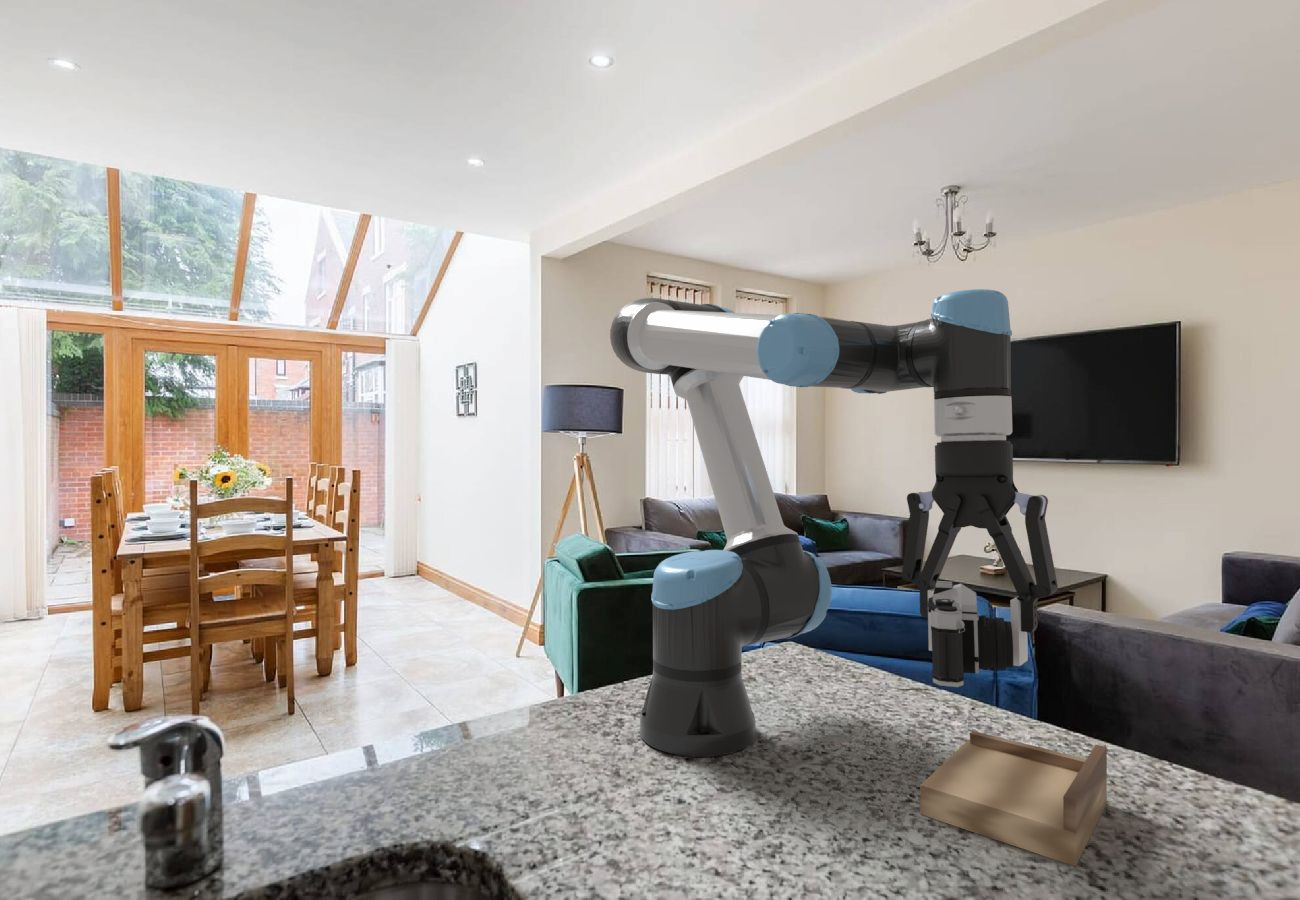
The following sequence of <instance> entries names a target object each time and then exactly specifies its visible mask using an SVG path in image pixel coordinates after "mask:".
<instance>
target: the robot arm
mask: <svg viewBox="0 0 1300 900" xmlns="http://www.w3.org/2000/svg"><path fill="white" fill-rule="evenodd" d="M931 309H932V310H931V312H930V318H927V319H926V320H920V321H916V322H910V323H904V324H898V325H886V324H885V325H884V324H878V323H871V322H863V321H855V320H845V319H838V318H832V317H825V316H818V315H817V314H812V313H804V312H802V313H801V312H793V313H789V312H788V313H781V314H772V313H771V314H768V313H746V312H745V313H744V312H735V311H734V310H732V309H729V308H727V307H721V306H720V305H719V306H718V305H717V304H713V303H702V304H701V303H700V304H698V303H693V302H685V301H680V300H679V301H678V300H672V299H665V298H658V297H646V298H644V297H643V298H639V299H635V300H634V301H629V302H628V303H627V304H626V305H624V306H622V307H621V309H619V310H618V312H616V314H615V316H614V318H613V320H612V322H611V326H610V330H609V332H610V333H609V335H610V336H609V338H610V344H611V348H612V350H613V353H614V354H615V356H616V357H617V358H618V359H619V361H620V362H622V363H623V364H624V365H625V366H627V367H628V368H629V369H632V370H635V371H638V372H641V373H647V374H654V375H668V376H669V377H670V380H671V385H672V388H673V390H674V394H675V395H676V396H678V397H679V398H682V399H683V400H686V402H687V405H688V408H689V413H690V416H691V419H692V423H693V426H694V430H695V433H696V436H697V440H698V444H699V448H700V451H701V454H702V457H703V462H704V464H705V467H706V473H707V475H708V478H709V481H710V486H711V488H712V493H713V496H714V500H715V504H716V507H717V510H718V514H719V516H720V521H721V524H722V527H723V531H724V535H725V538H726V544H725V546H724V548H723V549H708V550H707V549H705V550H702V551H700V550H694V551H689V552H682V553H679V554H675V555H671V556H669V557H668V558H665V559H664V560H661V562H659V563H658V565H657V566H656V568H655V570H654V572H653V579H652V592H651V603H652V661H653V662H652V664H653V665H652V677H651V680H650V684H649V685H648V686H649V687H648V690H647V693H646V695H645V699H644V702H643V708H642V709H641V710H640V711H641V712H640V716H639V734H640V735H639V736H640V737H641V739H642V741H644V742H645V743H646V744H647V745H649V746H650V747H652V748H654V749H656V750H659V751H662V752H664V753H668V754H672V755H678V756H684V757H698V758H699V757H715V756H724V755H729V754H733V753H736V752H738V751H741V750H743V749H746V748H747V747H749V746H750V745H751V744H752V743H753V742H754V741H755V738H756V719H755V718H756V717H755V714H754V712H753V710H752V706H751V703H750V699H749V698H750V697H749V696H748V692H747V688H746V686H745V683H744V679H743V676H742V674H743V673H742V659H743V658H742V647H746V646H747V647H748V646H752V645H756V644H761V643H765V642H766V643H767V642H770V641H775V640H780V639H781V640H782V639H785V640H786V639H792V638H794V637H798V636H799V635H802V634H806V633H808V632H812V630H813V631H814V630H815V629H816V628H818V627H819V626H820V625H821V624H822V622H823V621H824V619H826V616H827V611H828V610H829V608H830V607H831V601H832V581H831V577H830V573H829V570H828V568H827V567H826V564H825V563H824V562H823V560H822V559H821V558H819V557H817V556H816V555H815V553H812V552H809V551H807V550H804V549H803V546H802V543H801V540H800V537H799V534H798V532H796V531H794V530H792V529H791V528H788V527H787V526H786V525H785V524H784V521H783V518H782V516H781V513H780V509H779V506H778V502H777V500H776V497H775V493H774V491H773V487H772V483H771V480H770V478H769V475H768V471H767V468H766V465H765V461H764V460H763V455H762V453H761V449H760V446H759V443H758V440H757V436H756V434H755V433H756V432H755V431H754V427H753V424H752V421H751V418H750V415H749V411H748V407H747V405H746V402H745V399H744V395H743V393H742V390H741V387H740V383H741V382H742V380H743V378H744V377H748V378H756V379H762V380H768V381H769V380H770V381H772V382H773V383H776V384H778V385H779V384H780V385H785V386H788V387H794V388H796V387H798V388H808V387H809V388H810V387H814V388H839V389H846V390H848V389H849V390H851V391H852V392H854V393H856V394H877V395H881V394H883V395H884V394H886V393H889V392H896V391H906V390H912V389H922V388H933V406H934V409H933V410H934V411H933V412H934V434H935V436H936V437H939V438H940V442H936V445H934V466H935V468H934V469H935V470H934V472H935V483H934V485H933V487H932V488H931V489H932V490H929V491H924V492H923V491H922V492H921V491H916V492H910V493H908V494H907V496H906V502H907V506H908V512H909V518H908V526H907V533H906V539H905V546H904V553H903V554H904V555H903V563H902V570H901V577H902V580H903V581H905V582H910V583H912V584H915V586H917V588H918V590H919V613H920V616H921V618H926V619H927V625H928V626H927V627H928V630H927V631H928V632H927V633H928V634H927V635H928V638H927V639H928V651H929V652H930V651H931V652H932V631H931V612H928V599H929V598H931V597H933V591H934V590H935V587H936V583H937V581H939V580H940V576H941V573H942V572H943V570H944V566H945V564H946V563H947V559H948V558H949V556H950V553H951V550H952V547H953V546H954V543H955V541H956V539H957V535H958V534H959V533H960V531H961V530H962V528H965V527H966V528H968V527H975V528H976V529H986V530H987V532H988V535H989V536H990V538H991V539H992V540H993V542H994V543H995V547H996V548H997V551H998V553H999V556H1000V558H1001V560H1002V562H1003V564H1004V566H1005V568H1006V571H1007V574H1008V576H1009V578H1010V580H1011V582H1012V585H1013V587H1014V589H1015V592H1016V593H1017V596H1016V597H1014V598H1012V599H1010V601H1009V602H1010V622H1011V625H1012V636H1013V666H1016V667H1021V666H1023V665H1024V664H1025V663H1026V662H1028V660H1029V659H1028V658H1029V653H1028V652H1029V651H1028V650H1029V649H1028V648H1029V645H1028V633H1030V634H1031V633H1032V634H1033V632H1035V631H1036V630H1037V628H1038V625H1039V624H1038V623H1039V622H1038V600H1039V598H1043V597H1049V596H1050V595H1051V596H1052V595H1053V594H1054V593H1056V592H1057V591H1058V589H1059V588H1058V587H1059V586H1058V581H1057V575H1056V571H1055V565H1054V560H1053V553H1052V550H1051V548H1052V547H1051V545H1050V538H1049V532H1048V528H1047V527H1048V526H1047V523H1046V514H1047V509H1048V503H1049V499H1048V497H1047V496H1046V495H1044V494H1038V495H1033V494H1028V493H1024V492H1019V491H1018V488H1017V487H1016V485H1015V483H1014V458H1013V457H1014V454H1013V453H1014V452H1013V450H1014V449H1013V446H1014V445H1013V443H1011V441H1010V440H1007V436H1010V435H1011V434H1012V433H1013V408H1012V407H1013V406H1012V405H1013V404H1012V403H1013V402H1012V388H1011V336H1012V335H1013V331H1012V330H1011V322H1010V321H1011V320H1010V308H1009V301H1008V297H1007V296H1006V295H1005V294H1004V293H1002V292H1000V291H998V290H994V289H986V288H984V289H983V288H981V289H978V288H976V289H963V290H955V291H951V292H947V293H944V294H943V295H940V296H937V297H936V298H935V299H934V300H933V302H932V308H931ZM934 502H935V503H936V504H937V506H938V507H939V509H940V510H941V512H942V513H943V515H942V517H941V520H940V523H939V525H938V528H937V529H938V531H937V534H936V536H935V538H934V540H933V544H932V545H931V549H930V550H929V552H928V555H927V559H926V560H925V562H924V557H925V549H926V548H925V547H926V542H927V534H928V528H929V527H928V526H929V520H930V510H932V509H933V503H934ZM1015 504H1017V505H1018V507H1019V512H1020V514H1021V515H1024V525H1025V529H1026V534H1027V541H1028V545H1029V551H1030V556H1031V562H1032V568H1033V572H1034V577H1035V580H1034V578H1033V576H1032V574H1031V572H1030V569H1029V567H1028V565H1027V563H1026V560H1025V559H1024V557H1023V555H1022V552H1021V549H1020V547H1019V545H1018V543H1017V541H1016V538H1015V536H1014V535H1013V531H1012V530H1013V529H1012V526H1011V524H1010V521H1009V519H1008V517H1007V514H1008V513H1009V512H1010V510H1011V509H1012V508H1013V507H1014V505H1015ZM923 564H924V565H923ZM1035 582H1036V583H1035Z"/></svg>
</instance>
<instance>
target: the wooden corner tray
mask: <svg viewBox="0 0 1300 900" xmlns="http://www.w3.org/2000/svg"><path fill="white" fill-rule="evenodd" d="M1107 749H1108V747H1107V746H1105V745H1099V744H1095V745H1094V747H1093V748H1092V750H1091V751H1090V753H1089V755H1088V756H1087V758H1084V757H1079V756H1077V755H1076V756H1075V755H1071V754H1069V753H1063V752H1060V751H1056V750H1052V749H1049V748H1045V747H1040V746H1036V745H1032V744H1029V743H1024V742H1019V741H1016V740H1011V739H1007V738H1004V737H999V736H995V735H991V734H987V733H984V732H978V731H975V730H972V731H970V733H969V739H967V740H966V741H965V742H964V743H963V744H962V745H961V746H960V747H959V748H958V749H957V750H956V751H955V752H954V753H952V754H951V755H950V757H948V758H947V759H946V760H945V761H944V762H943V763H942V764H941V765H940V766H939V767H938V768H937V769H935V771H934V772H933V773H931V774H930V775H929V776H928V778H926V779H925V780H923V782H922V783H921V784H920V785H919V786H920V787H919V788H920V792H919V793H920V799H919V801H920V804H919V805H920V812H919V814H920V815H921V816H924V817H928V818H930V819H933V820H937V821H940V822H942V823H946V824H949V825H952V826H955V827H957V828H960V829H963V830H965V831H966V830H967V831H968V832H969V831H970V832H973V833H975V834H978V835H981V836H984V837H987V838H990V839H994V840H996V841H999V842H1001V843H1005V844H1009V845H1011V846H1013V847H1017V848H1019V849H1022V850H1026V851H1028V852H1032V853H1035V854H1038V855H1040V856H1043V857H1046V858H1049V859H1052V860H1056V861H1059V862H1062V863H1064V864H1067V865H1070V866H1073V867H1077V866H1078V863H1079V860H1080V858H1081V857H1082V854H1083V853H1084V851H1085V849H1086V846H1087V845H1088V842H1089V840H1090V838H1091V837H1092V834H1093V832H1094V831H1095V828H1096V827H1097V824H1098V822H1099V820H1100V817H1101V816H1102V813H1103V812H1104V809H1105V808H1106V805H1107V795H1108V794H1107V791H1108V790H1107V788H1108V787H1107V785H1108V784H1107V783H1108V781H1107V780H1108V777H1107V776H1108V773H1107V772H1108V771H1107V770H1108V764H1107V759H1108V756H1107V754H1108V751H1107Z"/></svg>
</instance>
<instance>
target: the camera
mask: <svg viewBox="0 0 1300 900" xmlns="http://www.w3.org/2000/svg"><path fill="white" fill-rule="evenodd" d="M977 599H978V598H977V592H976V591H975V590H972V589H970V588H968V587H967V586H965V585H964V584H962V583H959V584H955V585H953V581H943V580H942V581H941V580H938V581H937V583H936V585H935V590H934V591H933V597H931V598H929V599H928V612H931V631H932V651H931V656H932V657H931V659H932V660H931V661H932V682H933V683H934V684H935V685H939V686H942V687H943V686H944V687H953V688H959V687H962V686H964V682H965V679H964V678H965V676H964V674H974V675H975V674H979V673H980V672H979V671H980V670H983V671H989V669H990V670H991V669H996V670H997V671H1007V668H1014V665H1013V636H1012V625H1011V621H1007V620H1006V621H1005V617H995V618H990V617H988V616H986V615H985V614H982V615H979V609H978V604H977V603H978V602H977Z"/></svg>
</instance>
